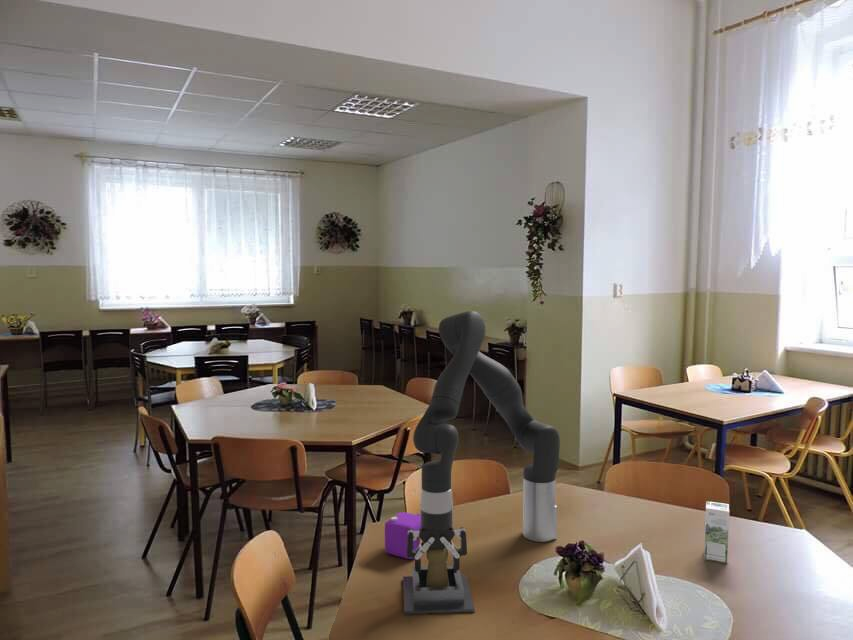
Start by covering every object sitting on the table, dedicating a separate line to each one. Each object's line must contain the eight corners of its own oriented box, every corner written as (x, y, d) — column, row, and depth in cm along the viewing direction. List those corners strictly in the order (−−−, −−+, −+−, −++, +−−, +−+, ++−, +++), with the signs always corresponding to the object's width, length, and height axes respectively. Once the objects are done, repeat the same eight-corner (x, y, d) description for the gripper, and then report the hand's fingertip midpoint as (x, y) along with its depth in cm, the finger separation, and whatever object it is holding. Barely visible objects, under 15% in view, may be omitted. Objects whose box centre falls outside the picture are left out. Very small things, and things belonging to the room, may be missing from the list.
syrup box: (727, 555, 170) (729, 503, 168) (727, 564, 164) (729, 510, 163) (704, 551, 172) (705, 499, 171) (703, 560, 167) (705, 507, 166)
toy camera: (435, 541, 179) (434, 507, 179) (419, 563, 167) (418, 526, 166) (400, 536, 183) (399, 503, 182) (381, 557, 170) (381, 521, 169)
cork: (451, 585, 153) (450, 542, 152) (449, 598, 147) (449, 553, 146) (426, 584, 154) (426, 541, 153) (423, 597, 148) (423, 552, 147)
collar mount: (466, 577, 159) (466, 561, 158) (474, 612, 143) (474, 594, 142) (403, 579, 158) (402, 563, 157) (404, 614, 142) (404, 596, 141)
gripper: (464, 499, 152) (464, 563, 154) (406, 501, 152) (406, 565, 153) (468, 511, 145) (468, 579, 146) (406, 513, 144) (407, 581, 146)
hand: (436, 572), depth 150 cm, fingers open, 8 cm apart
